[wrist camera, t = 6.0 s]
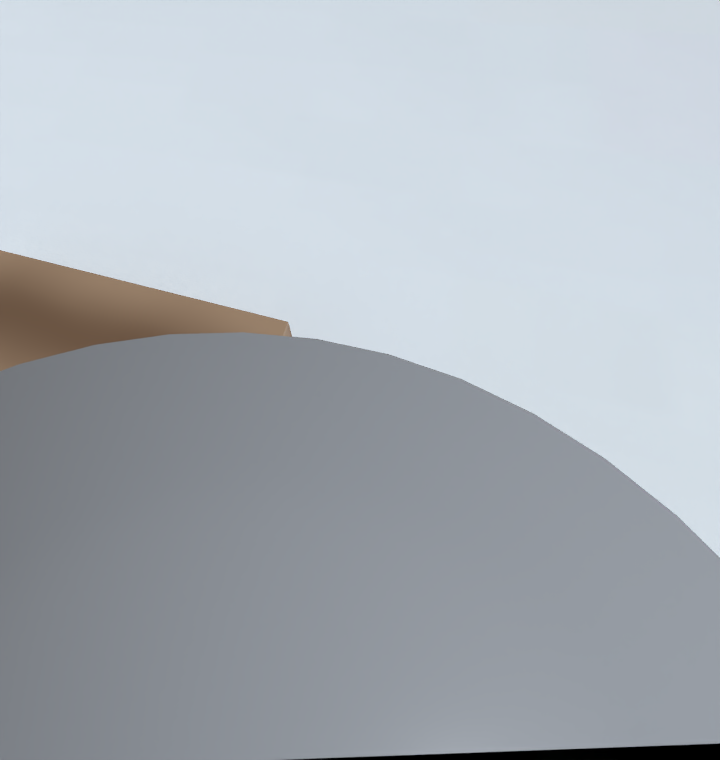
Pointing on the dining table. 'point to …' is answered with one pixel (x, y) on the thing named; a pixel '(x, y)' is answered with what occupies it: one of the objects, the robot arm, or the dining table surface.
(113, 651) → the bobbin
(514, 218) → the dining table surface
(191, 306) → the notched board
